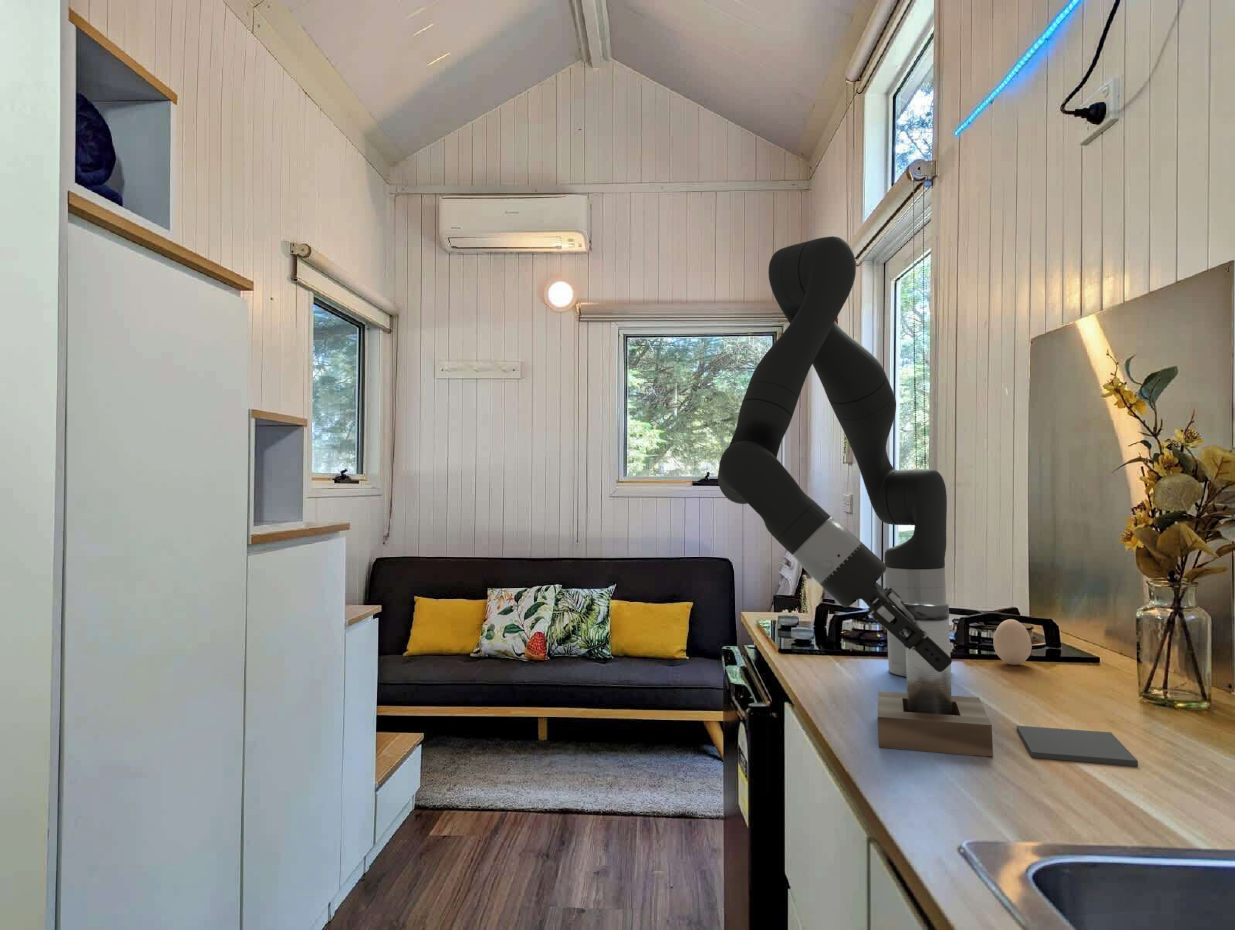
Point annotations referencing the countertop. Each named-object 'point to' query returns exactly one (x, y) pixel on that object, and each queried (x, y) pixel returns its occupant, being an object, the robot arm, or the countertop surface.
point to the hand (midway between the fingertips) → (944, 661)
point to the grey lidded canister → (923, 681)
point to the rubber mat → (1075, 745)
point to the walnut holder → (934, 726)
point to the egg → (1012, 642)
